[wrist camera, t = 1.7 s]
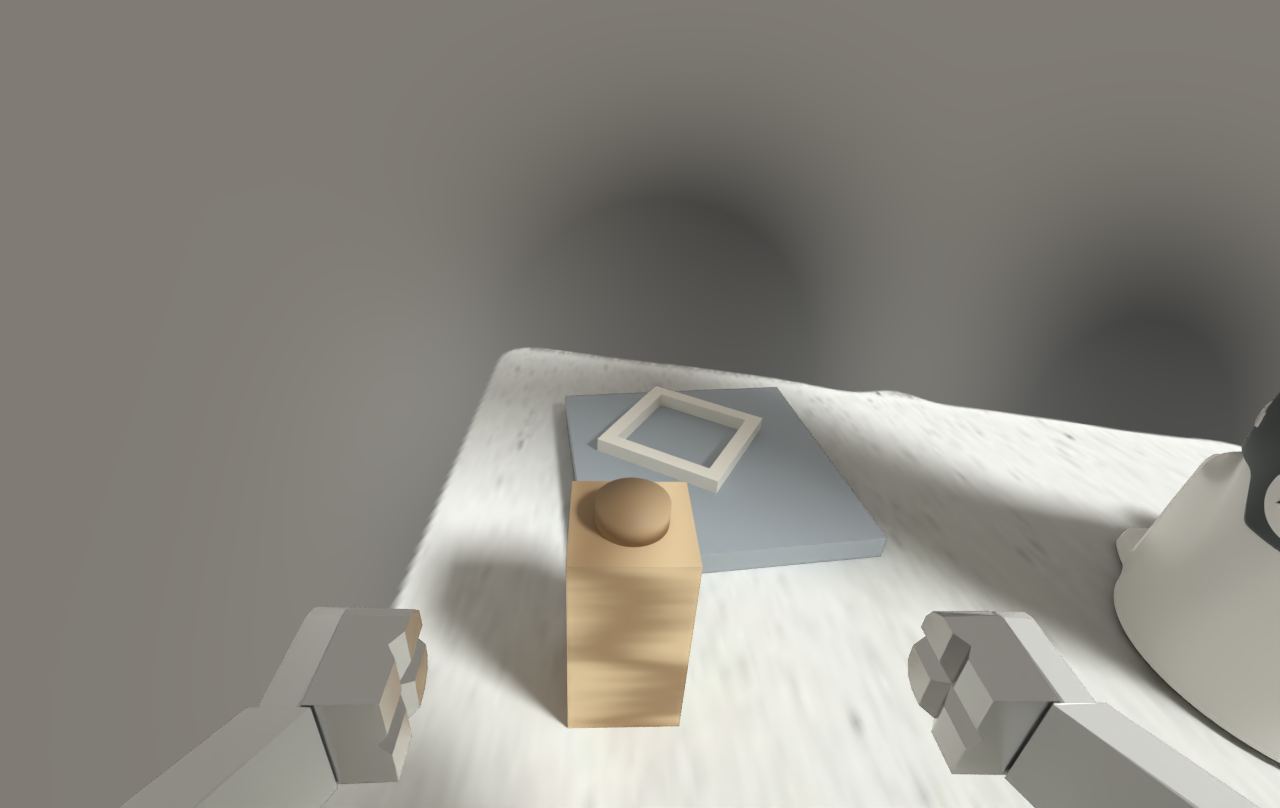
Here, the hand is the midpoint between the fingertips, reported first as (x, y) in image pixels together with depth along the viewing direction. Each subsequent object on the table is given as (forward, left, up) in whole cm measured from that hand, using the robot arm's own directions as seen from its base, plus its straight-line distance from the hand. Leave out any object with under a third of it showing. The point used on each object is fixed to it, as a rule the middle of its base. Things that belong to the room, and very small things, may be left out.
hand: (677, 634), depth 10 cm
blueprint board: (-10, -27, -18) cm, 34 cm away
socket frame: (-9, -29, -17) cm, 35 cm away
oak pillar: (-2, -12, -18) cm, 22 cm away
